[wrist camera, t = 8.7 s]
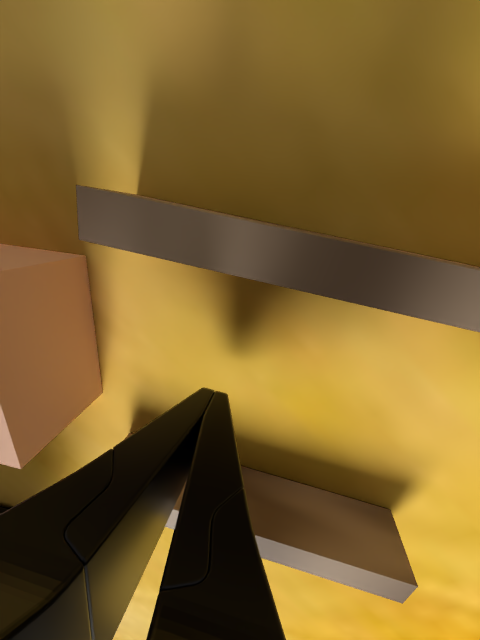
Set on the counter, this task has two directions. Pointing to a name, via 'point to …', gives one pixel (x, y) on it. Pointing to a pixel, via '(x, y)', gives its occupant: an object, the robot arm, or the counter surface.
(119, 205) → the corridor rails
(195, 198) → the counter surface
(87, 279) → the block
